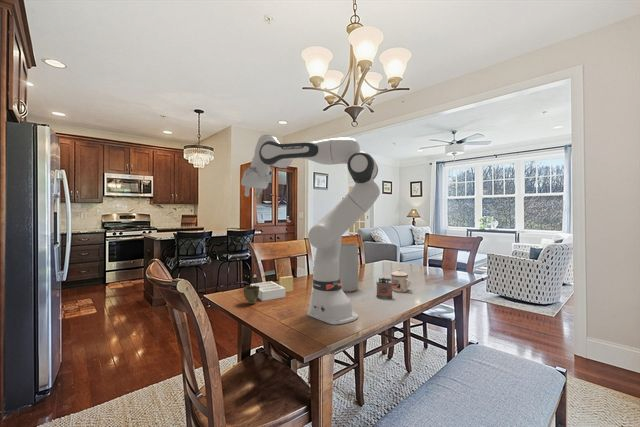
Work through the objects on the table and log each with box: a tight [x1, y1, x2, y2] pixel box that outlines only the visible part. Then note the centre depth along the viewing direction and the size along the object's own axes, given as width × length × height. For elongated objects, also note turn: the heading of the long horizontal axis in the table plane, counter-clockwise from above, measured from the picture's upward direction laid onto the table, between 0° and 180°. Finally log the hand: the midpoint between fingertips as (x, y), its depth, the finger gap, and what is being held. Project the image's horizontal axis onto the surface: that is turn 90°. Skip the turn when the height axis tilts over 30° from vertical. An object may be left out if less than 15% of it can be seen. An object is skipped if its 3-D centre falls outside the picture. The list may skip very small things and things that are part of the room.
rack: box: [249, 280, 286, 302], centre depth 152 cm, size 18×13×4 cm
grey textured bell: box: [243, 285, 259, 305], centre depth 137 cm, size 8×7×8 cm
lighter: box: [375, 276, 393, 300], centre depth 146 cm, size 8×3×10 cm, turn 68°
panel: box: [278, 275, 294, 293], centre depth 158 cm, size 2×7×8 cm, turn 122°
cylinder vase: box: [339, 243, 359, 293], centre depth 162 cm, size 12×12×25 cm
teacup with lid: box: [390, 268, 412, 293], centre depth 159 cm, size 12×9×12 cm
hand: (251, 196), depth 138 cm, fingers open, 8 cm apart
